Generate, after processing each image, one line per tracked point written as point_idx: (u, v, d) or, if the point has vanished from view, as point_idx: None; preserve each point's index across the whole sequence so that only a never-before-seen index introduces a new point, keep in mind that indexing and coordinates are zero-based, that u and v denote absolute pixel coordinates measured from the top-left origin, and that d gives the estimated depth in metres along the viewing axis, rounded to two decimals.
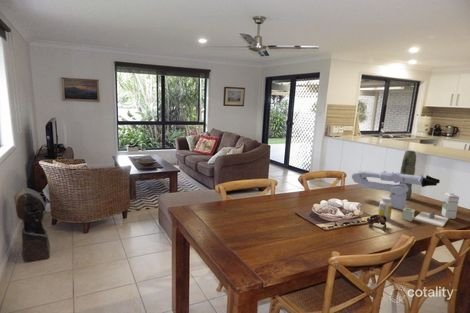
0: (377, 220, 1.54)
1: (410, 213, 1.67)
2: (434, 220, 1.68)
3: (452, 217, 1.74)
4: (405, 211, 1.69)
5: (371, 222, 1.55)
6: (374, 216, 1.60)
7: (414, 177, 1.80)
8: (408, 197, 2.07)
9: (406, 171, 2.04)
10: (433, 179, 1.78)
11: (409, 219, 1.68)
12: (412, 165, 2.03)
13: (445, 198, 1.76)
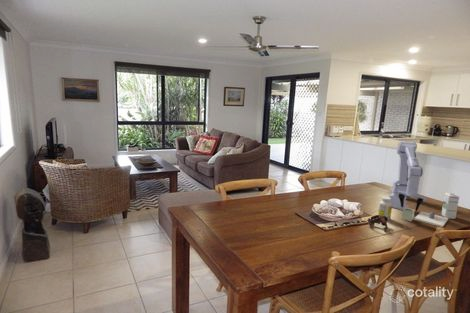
0: (378, 221, 1.53)
1: (410, 213, 1.67)
2: (434, 220, 1.68)
3: (452, 217, 1.74)
4: (405, 211, 1.69)
5: (372, 223, 1.55)
6: (375, 217, 1.60)
7: (407, 188, 1.68)
8: (408, 197, 2.07)
9: None
10: None
11: (409, 219, 1.68)
12: None
13: (445, 198, 1.76)
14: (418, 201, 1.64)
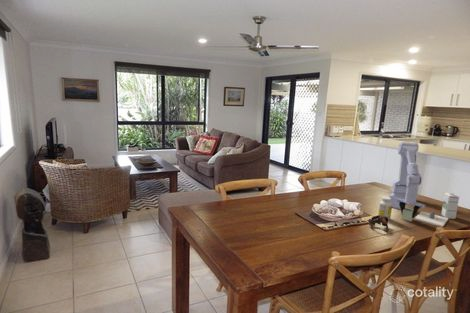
0: (379, 221, 1.53)
1: (410, 213, 1.67)
2: (434, 220, 1.68)
3: (452, 217, 1.74)
4: (405, 211, 1.69)
5: (373, 223, 1.54)
6: (376, 217, 1.59)
7: (406, 196, 1.69)
8: None
9: None
10: (413, 212, 1.68)
11: (409, 219, 1.68)
12: None
13: (445, 198, 1.76)
14: (415, 209, 1.65)
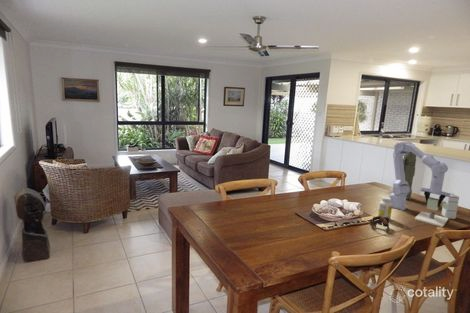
0: (380, 222, 1.52)
1: (435, 202, 1.67)
2: (434, 220, 1.68)
3: (452, 217, 1.74)
4: (430, 200, 1.68)
5: (374, 224, 1.53)
6: (377, 218, 1.58)
7: (431, 185, 1.68)
8: (408, 197, 2.07)
9: (406, 171, 2.04)
10: None
11: (434, 208, 1.67)
12: (412, 165, 2.03)
13: (445, 198, 1.76)
14: (440, 198, 1.65)
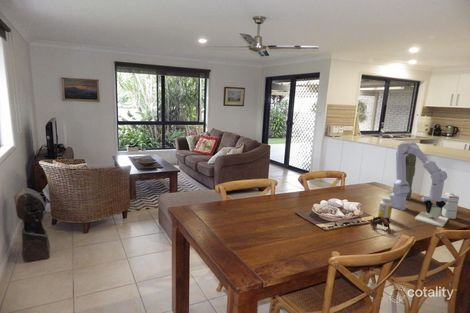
0: (381, 222, 1.52)
1: (439, 209, 1.68)
2: (434, 220, 1.68)
3: (452, 217, 1.74)
4: (434, 209, 1.68)
5: (375, 224, 1.53)
6: (377, 218, 1.58)
7: (434, 194, 1.67)
8: (408, 197, 2.07)
9: (406, 171, 2.04)
10: None
11: (437, 215, 1.69)
12: (412, 165, 2.03)
13: None
14: (443, 204, 1.67)
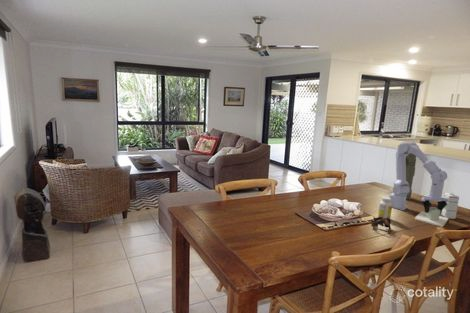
0: (382, 223, 1.51)
1: (438, 212, 1.68)
2: (434, 220, 1.68)
3: (452, 217, 1.74)
4: (434, 211, 1.68)
5: (375, 225, 1.52)
6: (378, 218, 1.57)
7: (434, 194, 1.67)
8: (408, 197, 2.07)
9: (406, 171, 2.04)
10: (440, 208, 1.70)
11: (437, 218, 1.69)
12: (412, 165, 2.03)
13: None
14: (444, 204, 1.67)
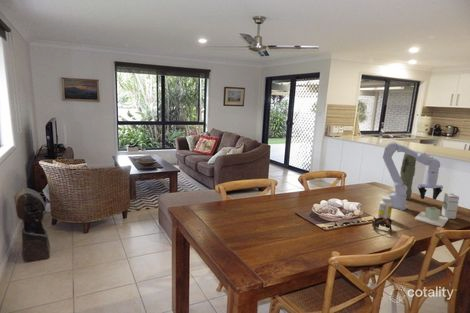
0: (383, 223, 1.50)
1: (438, 212, 1.68)
2: (434, 220, 1.68)
3: (452, 217, 1.74)
4: (434, 211, 1.68)
5: (377, 225, 1.52)
6: (379, 219, 1.57)
7: (430, 181, 1.76)
8: (408, 197, 2.07)
9: (406, 171, 2.04)
10: (435, 194, 1.79)
11: (437, 218, 1.69)
12: (412, 165, 2.03)
13: (445, 198, 1.76)
14: (439, 191, 1.77)
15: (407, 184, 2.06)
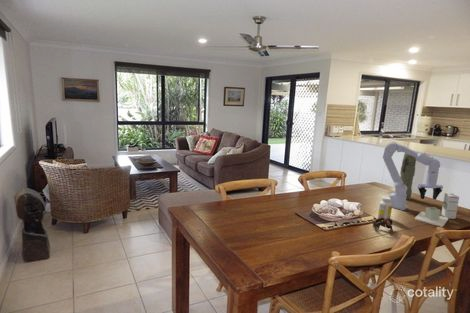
0: (383, 224, 1.50)
1: (438, 212, 1.68)
2: (434, 220, 1.68)
3: (452, 217, 1.74)
4: (434, 211, 1.68)
5: (377, 226, 1.51)
6: (380, 219, 1.56)
7: (430, 181, 1.76)
8: (408, 197, 2.07)
9: (406, 171, 2.04)
10: (435, 194, 1.79)
11: (437, 218, 1.69)
12: (412, 165, 2.03)
13: (445, 198, 1.76)
14: (439, 191, 1.77)
15: (407, 184, 2.06)
